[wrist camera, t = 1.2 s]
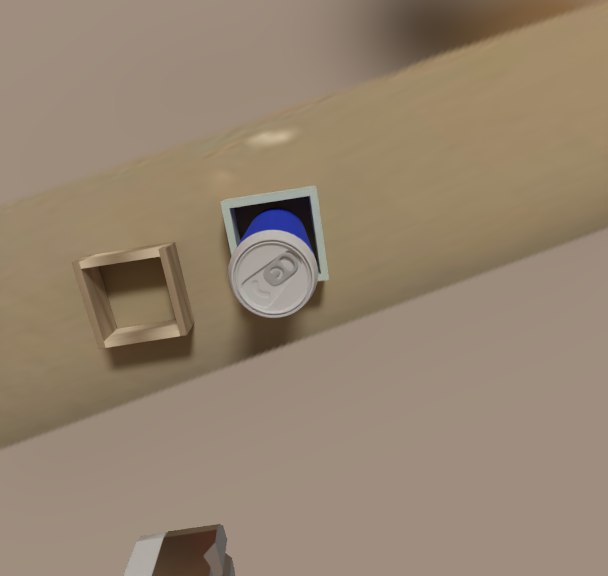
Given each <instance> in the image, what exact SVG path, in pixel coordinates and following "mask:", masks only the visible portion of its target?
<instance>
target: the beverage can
mask: <svg viewBox="0 0 608 576" xmlns="http://www.w3.org/2000/svg"><path fill="white" fill-rule="evenodd" d="M228 278H229V284H230V287H231V290H232V292H233V294H234V295H235V297H236V298H237V300H238V301H239V302H240V303H241V304H242V305H243V306H244V307H245V308H247V309H248V310H249V311H251V312H253V313H254V314H257V315H259V316H262V317H267V318H280V317H285V316H288V315H291V314H293V313H295V312H296V311H298V310H299V309H300V308H302V307H303V306H304V305H305V304H306V303H307V302H308V301H309V299H310V298H311V297H312V295H313V293H314V291H315V289H316V285H317V282H318V266H317V262H316V259H315V256H314V253H313V250H312V248H311V245H310V242H309V239H308V237H307V234H306V231H305V228H304V226H303V224H302V222H301V220H300V219H299V218H298V217H297V216H296V215H295V214H294V213H292V212H290V211H288V210H286V209H282V208H271V209H267V210H265V211H263V212H261V213H259V214H258V215H257V216H256V217H255V218H254V219H253V221H252V222H251V224H250V226H249V227H248V229H247V231H246V232H245V234H244V236H243V237H242V239H241V241H240V242H239V244H238V246H237V247H236V249H235V251H234V252H233V254H232V257H231V259H230V262H229V267H228Z"/></svg>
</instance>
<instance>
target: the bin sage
mask: <svg viewBox="0 0 608 576" xmlns="http://www.w3.org/2000/svg"><path fill="white" fill-rule="evenodd" d="M305 196H308V198H309V205H310V212H311V219H312V226H313V233H314V240H315V247H316V254H317V261H318V281H323V280H329V276H328V269H327V262H326V254H325V247H324V240H323V232H322V225H321V218H320V210H319V203H318V195H317V188H316V187H315V186H308V187H302V188H295V189H289V190H283V191H276V192H270V193H263V194H257V195H250V196H244V197H237V198H231V199H225V200H223V201H221V207H222V212H223V217H224V222H225V227H226V232H227V237H228V242H229V246H230V251H231V256H232V254H233V252H234V251H235V249H236V247H237V246H238V244H239V242H240V241H241V240H240V235H239V230H238V225H237V220H236V215H235V210H234V208H235V207H241V206H247V205H254V204H260V203H267V202H273V201H280V200H286V199H292V198H299V197H305Z"/></svg>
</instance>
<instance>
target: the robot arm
mask: <svg viewBox="0 0 608 576" xmlns="http://www.w3.org/2000/svg"><path fill="white" fill-rule="evenodd" d="M226 543H227V538H226V534H225V531H224V527H223V525H221V524H217V525H210V526H203V527H197V528H189V529H182V530H175V531H168V532H166V533H159V534H151V535H144V536H141V537H140V538H139V540H138V541H137V542H136V543H135V545H134V548H133V551H132V553H131V556H130V558H129V561H128V563H127V566H126V569H125V571H124V574H123V576H235V571H234V566H233V561H232V558H231V557H230V556H228V555H227V554H226V553H225V551H226Z"/></svg>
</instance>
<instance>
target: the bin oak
mask: <svg viewBox="0 0 608 576" xmlns="http://www.w3.org/2000/svg"><path fill="white" fill-rule="evenodd" d="M154 257H160V258H161V262H162V266H163V270H164V274H165V278H166V282H167V286H168V290H169V294H170V298H171V302H172V306H173V310H174V314H175V317H176V320H170V321H164V322H157V323H151V324H144V325H138V326H132V327H125V328H119V329H117V327H116V323H115V320H114V317H113V313H112V310H111V307H110V303H109V300H108V297H107V293H106V290H105V286H104V283H103V280H102V276H101V273H100V270H99V266H103V265H109V264H115V263H122V262H128V261H135V260H141V259H148V258H154ZM72 266H73V269H74V272H75V275H76V278H77V281H78V285H79V288H80V291H81V294H82V297H83V300H84V303H85V307H86V310H87V313H88V316H89V319H90V322H91V326H92V329H93V332H94V335H95V338H96V341H97V344H98V348H99V349H102V348H108V347H114V346H121V345H127V344H133V343H140V342H146V341H153V340H159V339H165V338H172V337H178V336H184V335H187V334H188V333H189V331H190V329H191V327H192V326H193V324H194V320H193V316H192V312H191V308H190V303H189V299H188V295H187V291H186V287H185V283H184V279H183V274H182V270H181V266H180V262H179V258H178V254H177V249H176V245H175V242H173V243H166V244H160V245H153V246H147V247H140V248H134V249H128V250H121V251H115V252H108V253H102V254H95V255H89V256H86V257H84V258H82V259H79V260H77V261H75V262H73V263H72Z"/></svg>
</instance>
